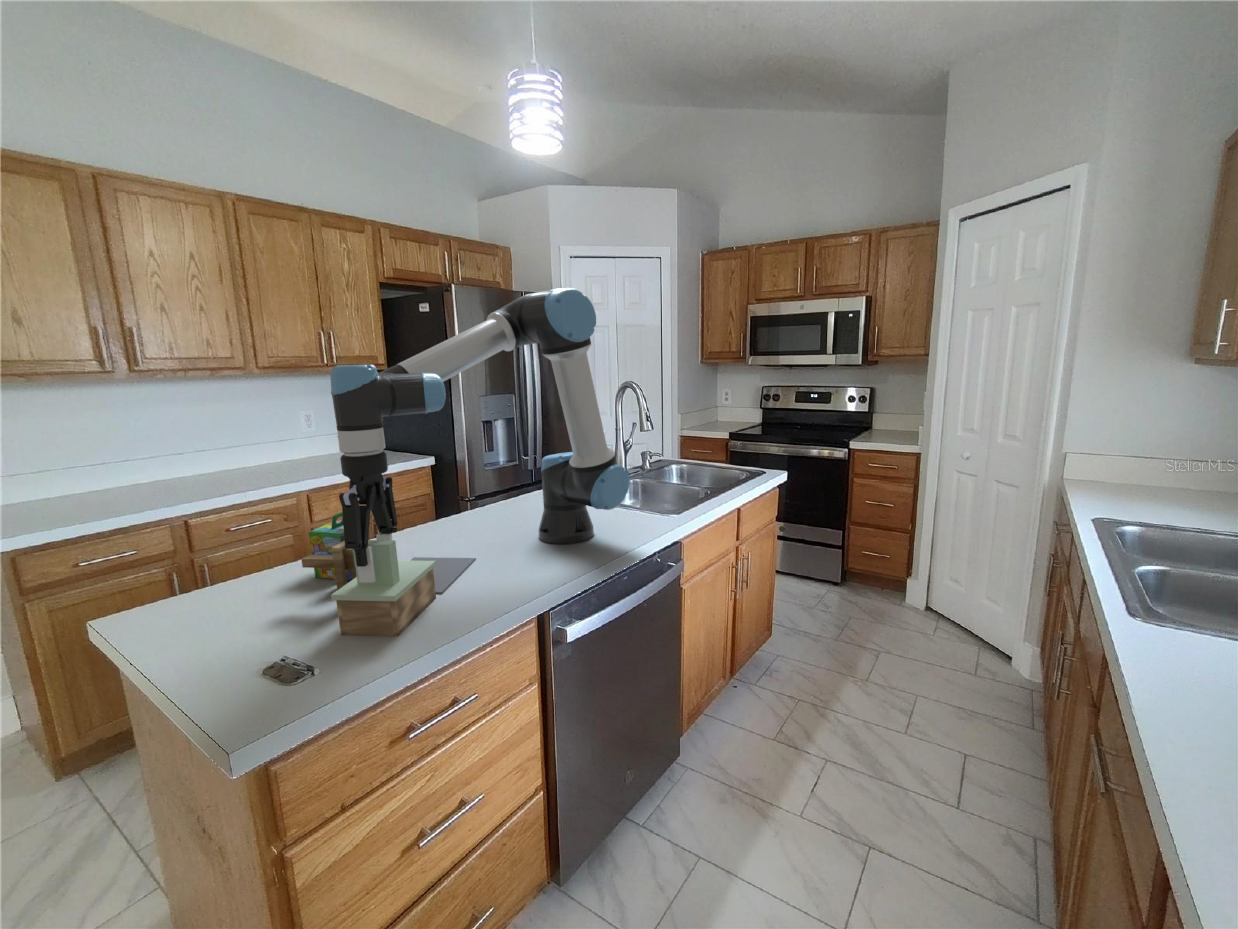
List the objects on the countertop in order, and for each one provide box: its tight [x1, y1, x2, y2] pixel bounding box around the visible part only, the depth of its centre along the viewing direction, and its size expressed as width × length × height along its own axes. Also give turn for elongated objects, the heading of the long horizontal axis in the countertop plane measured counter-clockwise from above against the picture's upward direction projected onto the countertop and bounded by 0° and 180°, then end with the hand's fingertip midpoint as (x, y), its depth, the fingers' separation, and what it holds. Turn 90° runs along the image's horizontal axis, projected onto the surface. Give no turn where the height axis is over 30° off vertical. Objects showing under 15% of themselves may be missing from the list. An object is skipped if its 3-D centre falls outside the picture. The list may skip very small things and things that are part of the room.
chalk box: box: [308, 511, 370, 580], centre depth 129 cm, size 9×9×15 cm
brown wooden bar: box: [300, 548, 355, 569], centre depth 111 cm, size 2×11×4 cm, turn 84°
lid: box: [330, 539, 436, 601], centre depth 106 cm, size 17×12×9 cm
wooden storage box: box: [331, 541, 437, 637], centre depth 107 cm, size 16×17×13 cm
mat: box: [409, 556, 477, 595], centre depth 127 cm, size 16×20×1 cm
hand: (377, 573), depth 103 cm, fingers open, 6 cm apart
